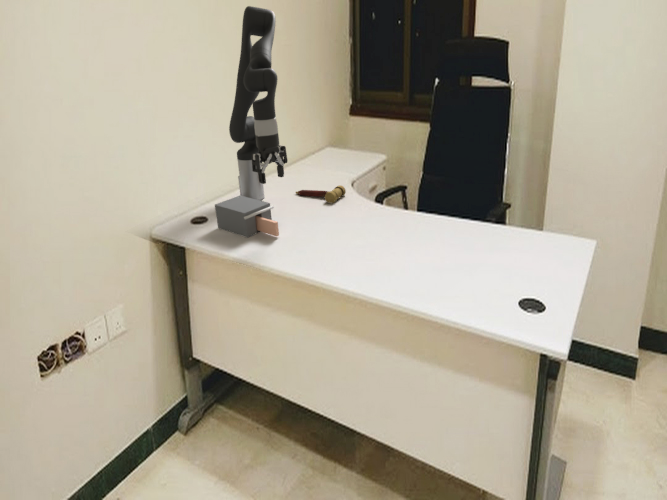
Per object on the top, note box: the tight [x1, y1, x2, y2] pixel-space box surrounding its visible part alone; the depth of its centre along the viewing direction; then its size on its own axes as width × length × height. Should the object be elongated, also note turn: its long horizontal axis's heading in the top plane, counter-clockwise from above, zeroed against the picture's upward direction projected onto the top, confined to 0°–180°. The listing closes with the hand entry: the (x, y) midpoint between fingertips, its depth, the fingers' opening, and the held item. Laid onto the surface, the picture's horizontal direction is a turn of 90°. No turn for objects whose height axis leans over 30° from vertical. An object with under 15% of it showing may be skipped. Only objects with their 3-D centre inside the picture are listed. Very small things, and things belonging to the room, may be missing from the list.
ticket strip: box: [255, 215, 280, 237], centre depth 200 cm, size 23×1×5 cm, turn 50°
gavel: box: [295, 185, 347, 204], centre depth 231 cm, size 21×5×10 cm
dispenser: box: [214, 195, 274, 238], centre depth 202 cm, size 17×13×9 cm
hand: (272, 180), depth 191 cm, fingers open, 8 cm apart
